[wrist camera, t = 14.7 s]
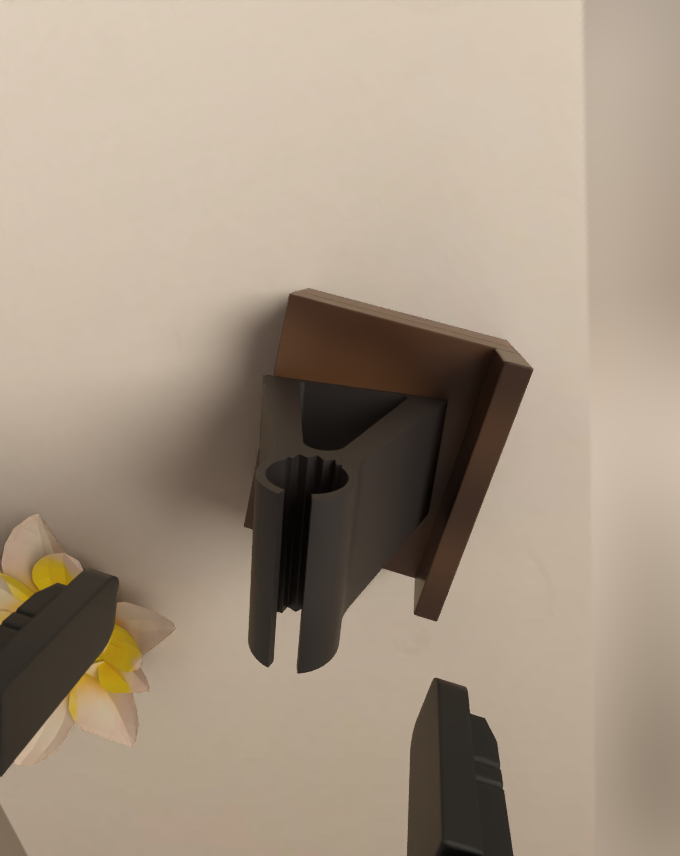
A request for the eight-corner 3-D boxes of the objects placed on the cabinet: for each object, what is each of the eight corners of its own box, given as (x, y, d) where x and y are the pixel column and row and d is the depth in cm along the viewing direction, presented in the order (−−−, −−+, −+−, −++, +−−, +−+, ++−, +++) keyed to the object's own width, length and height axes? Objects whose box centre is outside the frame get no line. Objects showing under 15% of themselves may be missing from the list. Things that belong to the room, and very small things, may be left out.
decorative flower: (230, 638, 34) (123, 791, 26) (163, 691, 40) (60, 827, 32) (61, 484, 33) (-104, 589, 25) (20, 562, 40) (-123, 666, 31)
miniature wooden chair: (307, 287, 28) (270, 298, 21) (508, 340, 27) (534, 368, 20) (264, 495, 32) (223, 557, 26) (434, 545, 31) (437, 622, 25)
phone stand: (448, 399, 24) (467, 524, 13) (428, 510, 26) (429, 702, 15) (265, 373, 25) (137, 468, 14) (259, 482, 27) (143, 642, 16)
